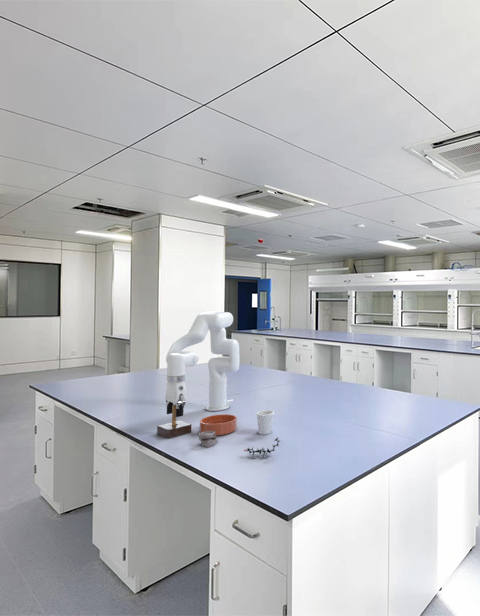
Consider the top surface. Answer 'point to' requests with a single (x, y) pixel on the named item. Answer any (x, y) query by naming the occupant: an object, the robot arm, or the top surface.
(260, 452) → the molecular model
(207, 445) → the dental mold
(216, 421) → the mixing bowl
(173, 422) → the light wooden dowel
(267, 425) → the dixie cup
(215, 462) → the top surface
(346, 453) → the top surface
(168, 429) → the holder
